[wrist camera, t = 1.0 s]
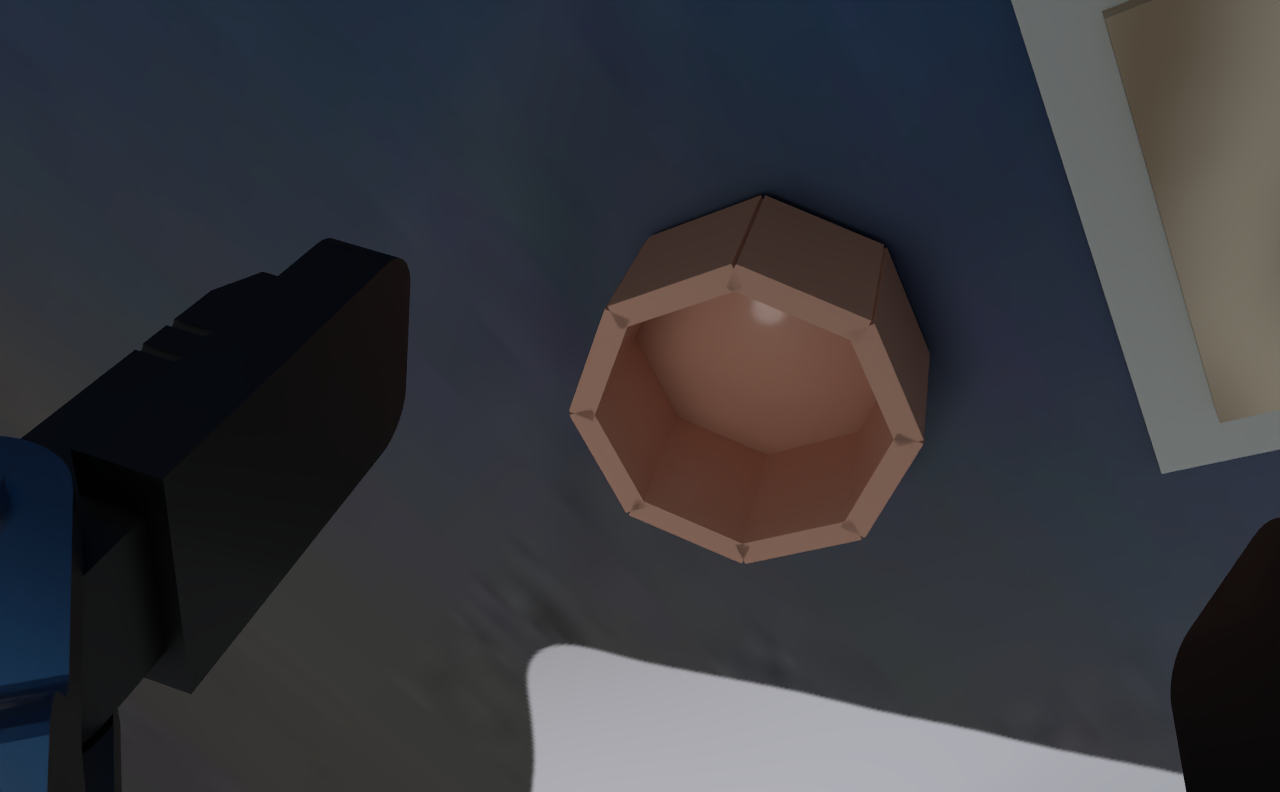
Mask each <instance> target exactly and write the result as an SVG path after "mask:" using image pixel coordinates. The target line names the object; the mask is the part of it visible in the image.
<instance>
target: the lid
mask: <svg viewBox="0 0 1280 792" xmlns="http://www.w3.org/2000/svg"><path fill="white" fill-rule="evenodd" d="M1102 13H1103V17H1104V20H1105V24H1106V27H1107V31H1108V35H1109V38H1110V42H1111V45H1112V49H1113V52H1114V56H1115V59H1116V63H1117V66H1118V70H1119V73H1120V77H1121V80H1122V84H1123V87H1124V91H1125V94H1126V98H1127V101H1128V105H1129V108H1130V112H1131V115H1132V119H1133V122H1134V126H1135V129H1136V133H1137V136H1138V140H1139V143H1140V147H1141V151H1142V154H1143V158H1144V161H1145V165H1146V168H1147V172H1148V175H1149V179H1150V182H1151V186H1152V189H1153V193H1154V196H1155V200H1156V203H1157V207H1158V210H1159V214H1160V217H1161V221H1162V224H1163V228H1164V231H1165V235H1166V238H1167V242H1168V245H1169V249H1170V252H1171V256H1172V259H1173V263H1174V267H1175V270H1176V274H1177V277H1178V281H1179V284H1180V288H1181V291H1182V295H1183V298H1184V302H1185V305H1186V309H1187V312H1188V316H1189V319H1190V323H1191V326H1192V330H1193V333H1194V337H1195V340H1196V344H1197V347H1198V351H1199V354H1200V358H1201V361H1202V365H1203V368H1204V372H1205V376H1206V379H1207V383H1208V386H1209V390H1210V393H1211V397H1212V400H1213V404H1214V407H1215V410H1216V413H1217V416H1218V419H1219V422H1220V423H1223V422H1228V421H1232V420H1237V419H1241V418H1246V417H1250V416H1255V415H1259V414H1264V413H1268V412H1273V411H1277V410H1280V0H1129V1H1127V2H1124V3H1122V4H1119V5H1117V6H1114V7H1112V8H1109V9H1107V10H1104V11H1102Z"/></svg>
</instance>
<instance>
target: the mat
mask: <svg viewBox="0 0 1280 792" xmlns="http://www.w3.org/2000/svg"><path fill="white" fill-rule="evenodd" d="M1011 1H1012V5H1013V8H1014V11H1015V14H1016V17H1017V20H1018V23H1019V27H1020V30H1021V33H1022V36H1023V39H1024V42H1025V45H1026V49H1027V52H1028V55H1029V58H1030V61H1031V64H1032V67H1033V71H1034V74H1035V77H1036V80H1037V83H1038V86H1039V89H1040V93H1041V96H1042V99H1043V102H1044V105H1045V108H1046V111H1047V115H1048V118H1049V121H1050V124H1051V127H1052V130H1053V133H1054V137H1055V140H1056V143H1057V146H1058V149H1059V152H1060V155H1061V159H1062V162H1063V165H1064V168H1065V171H1066V174H1067V177H1068V181H1069V184H1070V187H1071V190H1072V193H1073V196H1074V199H1075V203H1076V206H1077V209H1078V212H1079V215H1080V218H1081V221H1082V225H1083V228H1084V231H1085V234H1086V237H1087V240H1088V244H1089V247H1090V250H1091V253H1092V256H1093V259H1094V262H1095V266H1096V269H1097V272H1098V275H1099V278H1100V281H1101V284H1102V288H1103V291H1104V294H1105V297H1106V300H1107V303H1108V306H1109V310H1110V313H1111V316H1112V319H1113V322H1114V325H1115V328H1116V332H1117V335H1118V338H1119V341H1120V344H1121V347H1122V350H1123V354H1124V357H1125V360H1126V363H1127V366H1128V369H1129V372H1130V376H1131V379H1132V382H1133V385H1134V388H1135V391H1136V394H1137V398H1138V401H1139V404H1140V407H1141V410H1142V413H1143V416H1144V420H1145V423H1146V426H1147V429H1148V432H1149V435H1150V438H1151V442H1152V445H1153V448H1154V451H1155V454H1156V457H1157V460H1158V464H1159V467H1160V470H1161V473H1162V474H1164V473H1169V472H1173V471H1178V470H1183V469H1188V468H1192V467H1197V466H1202V465H1207V464H1212V463H1216V462H1221V461H1226V460H1231V459H1236V458H1240V457H1245V456H1250V455H1255V454H1259V453H1264V452H1269V451H1274V450H1279V449H1280V410H1277V411H1273V412H1268V413H1264V414H1259V415H1255V416H1250V417H1246V418H1241V419H1237V420H1232V421H1228V422H1223V423H1220V422H1219V419H1218V416H1217V413H1216V410H1215V407H1214V404H1213V400H1212V397H1211V393H1210V390H1209V386H1208V383H1207V379H1206V376H1205V372H1204V368H1203V365H1202V361H1201V358H1200V354H1199V351H1198V347H1197V344H1196V340H1195V337H1194V333H1193V330H1192V326H1191V323H1190V319H1189V316H1188V312H1187V309H1186V305H1185V302H1184V298H1183V295H1182V291H1181V288H1180V284H1179V281H1178V277H1177V274H1176V270H1175V267H1174V263H1173V259H1172V256H1171V252H1170V249H1169V245H1168V242H1167V238H1166V235H1165V231H1164V228H1163V224H1162V221H1161V217H1160V214H1159V210H1158V207H1157V203H1156V200H1155V196H1154V193H1153V189H1152V186H1151V182H1150V179H1149V175H1148V172H1147V168H1146V165H1145V161H1144V158H1143V154H1142V151H1141V147H1140V143H1139V140H1138V136H1137V133H1136V129H1135V126H1134V122H1133V119H1132V115H1131V112H1130V108H1129V105H1128V101H1127V98H1126V94H1125V91H1124V87H1123V84H1122V80H1121V77H1120V73H1119V70H1118V66H1117V63H1116V59H1115V56H1114V52H1113V49H1112V45H1111V42H1110V38H1109V35H1108V31H1107V27H1106V24H1105V20H1104V17H1103V13H1102V11H1104V10H1107V9H1109V8H1112V7H1114V6H1117V5H1119V4H1122V3H1124V2H1127V1H1129V0H1011Z"/></svg>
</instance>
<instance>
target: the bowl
mask: <svg viewBox="0 0 1280 792" xmlns="http://www.w3.org/2000/svg"><path fill="white" fill-rule="evenodd" d="M883 248H884V244H881V243H879V242H876V241H874V240H872V239H869V238H867V237H864V236H862V235H860V234H857V233H855V232H852V231H850V230H848V229H845V228H843V227H840V226H838V225H836V224H833V223H831V222H828V221H826V220H824V219H821V218H819V217H816V216H814V215H812V214H809V213H807V212H804V211H802V210H800V209H797V208H795V207H792V206H790V205H788V204H785V203H783V202H780V201H778V200H776V199H773V198H771V197H768V196H766V195H765V197H764V199H762V196H761V195H760V196H757V197H754V198H752V199H749V200H746V201H744V202H741V203H738V204H736V205H733V206H730V207H727V208H725V209H722V210H719V211H717V212H714V213H711V214H709V215H706V216H703V217H701V218H698V219H695V220H692V221H690V222H687V223H684V224H682V225H679V226H676V227H674V228H671V229H668V230H665V231H663V232H660V233H657V234H655V235H652V236H650V237H649V239H647V240H646V242H645V244H644V245H643V247H642V249H641V250H640V252H639V253H638V255H637V257H636V258H635V260H634V262H633V263H632V265H631V267H630V268H629V270H628V272H627V273H626V275H625V277H624V278H623V280H622V282H621V283H620V285H619V286H618V288H617V290H616V291H615V293H614V295H613V296H612V298H611V300H610V301H609V303H608V305H607V306H606V308H605V310H604V313H603V316H602V318H601V321H600V324H599V327H598V330H597V333H596V336H595V338H594V341H593V344H592V347H591V350H590V353H589V356H588V358H587V361H586V364H585V367H584V370H583V373H582V376H581V379H580V381H579V384H578V387H577V390H576V393H575V396H574V399H573V401H572V404H571V407H570V410H569V412H571V413H570V417H571V418H572V420H573V422H574V424H575V425H576V427H577V429H578V430H579V432H580V434H581V436H582V437H583V439H584V441H585V443H586V444H587V446H588V448H589V449H590V451H591V453H592V455H593V456H594V458H595V460H596V462H597V463H598V465H599V467H600V468H601V470H602V472H603V474H604V475H605V477H606V479H607V481H608V482H609V484H610V486H611V487H612V489H613V491H614V493H615V494H616V496H617V498H618V500H619V501H620V503H621V505H622V506H623V508H624V510H625V512H626V513H627V512H630V514H629V515H630V516H632V517H635V518H637V519H639V520H642V521H644V522H646V523H649V524H651V525H653V526H655V527H658V528H660V529H662V530H665V531H667V532H669V533H672V534H674V535H676V536H679V537H681V538H683V539H686V540H688V541H690V542H693V543H695V544H697V545H700V546H702V547H704V548H707V549H709V550H711V551H714V552H716V553H718V554H721V555H723V556H725V557H728V558H730V559H732V560H735V561H737V562H739V563H742V561H743V560H744V562H745V564H747V563H752V562H756V561H761V560H766V559H771V558H776V557H781V556H785V555H790V554H795V553H800V552H805V551H810V550H814V549H819V548H824V547H829V546H834V545H839V544H843V543H848V542H853V541H858V540H862V537H864V538H865V537H866V535H867V534H868V532H869V530H870V529H871V527H872V526H873V524H874V522H875V521H876V519H877V518H878V516H879V514H880V513H881V511H882V510H883V508H884V506H885V505H886V503H887V502H888V500H889V498H890V497H891V495H892V494H893V492H894V490H895V489H896V487H897V486H898V484H899V482H900V481H901V479H902V478H903V476H904V474H905V473H906V471H907V470H908V468H909V466H910V465H911V463H912V462H913V460H914V458H915V457H916V455H917V454H918V452H919V450H920V449H921V447H922V446H923V444H924V430H925V416H926V402H927V388H928V374H929V360H930V353H929V350H928V348H927V345H926V343H925V340H924V338H923V335H922V333H921V330H920V328H919V326H918V323H917V321H916V318H915V316H914V313H913V311H912V308H911V306H910V303H909V301H908V298H907V296H906V293H905V291H904V288H903V286H902V283H901V281H900V278H899V276H898V274H897V271H896V269H895V266H894V264H893V261H892V259H891V256H890V254H889V251H888V249H887V248H884V249H883Z"/></svg>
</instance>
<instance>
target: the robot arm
mask: <svg viewBox="0 0 1280 792" xmlns="http://www.w3.org/2000/svg"><path fill="white" fill-rule="evenodd" d="M409 302H410V273H409V269H408V266H407V264H406V262H405V261H404V260H403V259H401V258H397V257H394V256H391V255H387V254H384V253H380V252H377V251H373V250H370V249H367V248H363V247H360V246H356V245H353V244H349V243H346V242H342V241H339V240H336V239H332V238H327V239H324V240H322V241H320V242H319V243H317V244H316V245H315V246H314V247H313V248H311V249H310V250H309V251H308V252H307V253H305V254H304V255H303V256H302V257H301V258H299V259H298V260H297V261H296V262H295V263H293V264H292V265H291V266H290V267H288V268H287V269H286V270H285V271H284V272H282V273H281V274H280V275H279V276H275V275H272V274H269V273H265V272H261V273H258V274H255V275H253V276H250V277H247V278H244V279H242V280H239V281H236V282H234V283H231V284H228V285H225V286H223V287H220V288H217V289H214V290H212V291H210V292H209V293H208V294H206V295H205V296H204V297H202V298H201V299H200V300H199V301H197V302H196V303H195V304H193V305H192V306H191V307H190V308H188V309H187V310H186V311H184V312H183V313H182V314H181V315H179V316H178V317H177V318H175V319H174V323H173V325H172V327H170V326H167V325H166V326H165V327H164V328H162V329H161V330H160V331H159V332H157V333H156V334H155V335H153V336H152V337H151V338H150V339H148V340H147V341H146V342H144V343H143V348H142V350H141V351H138V350H134V351H133V352H132V353H130V354H129V355H128V356H126V357H125V358H124V359H123V360H121V361H120V362H119V363H117V364H116V365H115V366H114V367H112V368H111V369H110V370H108V371H107V372H106V373H105V374H103V375H102V376H101V377H99V378H98V379H97V380H96V381H94V382H93V383H92V384H90V385H89V386H88V387H87V388H85V389H84V390H83V391H81V392H80V393H79V394H78V395H76V396H75V397H74V398H72V399H71V400H70V401H69V402H67V403H66V404H65V405H63V406H62V407H61V408H60V409H58V410H57V411H56V412H54V413H53V414H52V415H51V416H49V417H48V418H47V419H45V420H44V421H43V422H42V423H40V424H39V425H38V426H36V427H35V428H34V429H33V430H31V431H30V432H29V433H27V434H26V435H25V436H24V437H22V438H21V439H18V438H12V437H6V436H0V792H122V779H121V731H120V719H119V713H118V707H119V706H120V705H121V704H122V702H123V701H124V700H125V699H126V698H127V697H128V695H129V694H130V693H131V692H132V691H133V690H134V688H135V687H136V686H137V685H138V684H139V683H140V681H141V680H142V679H143V678H144V677H145V678H147V679H150V680H153V681H156V682H159V683H161V684H164V685H167V686H170V687H173V688H176V689H178V690H181V691H184V692H187V693H190V694H192V692H193V691H194V690H195V689H196V687H197V686H198V685H199V684H200V682H201V681H202V680H203V679H204V677H205V676H206V675H207V674H208V672H209V671H210V670H211V668H212V667H213V666H214V665H215V663H216V662H217V661H218V660H219V658H220V657H221V656H222V655H223V653H224V652H225V651H226V650H227V648H228V647H229V646H230V645H231V643H232V642H233V641H234V639H235V638H236V637H237V636H238V634H239V633H240V632H241V631H242V629H243V628H244V627H245V626H246V624H247V623H248V622H249V621H250V619H251V618H252V617H253V616H254V614H255V613H256V612H257V611H258V609H259V608H260V607H261V605H262V604H263V603H264V602H265V600H266V599H267V598H268V597H269V595H270V594H271V593H272V592H273V590H274V589H275V588H276V587H277V585H278V584H279V583H280V582H281V580H282V579H283V578H284V577H285V575H286V574H287V573H288V571H289V570H290V569H291V568H292V566H293V565H294V564H295V563H296V561H297V560H298V559H299V558H300V556H301V555H302V554H303V553H304V551H305V550H306V549H307V548H308V546H309V545H310V544H311V542H312V541H313V540H314V539H315V537H316V536H317V535H318V534H319V532H320V531H321V530H322V529H323V527H324V526H325V525H326V524H327V522H328V521H329V520H330V519H331V517H332V516H333V515H334V514H335V512H336V511H337V510H338V508H339V507H340V506H341V505H342V503H343V502H344V501H345V500H346V498H347V497H348V496H349V495H350V493H351V492H352V491H353V490H354V488H355V487H356V486H357V485H358V483H359V482H360V481H361V479H362V478H363V477H364V476H365V474H366V473H367V472H368V471H369V469H370V468H371V467H372V466H373V464H374V463H375V462H376V461H377V459H378V458H379V457H380V456H381V454H382V453H383V452H384V450H385V449H386V447H387V446H388V444H389V442H390V440H391V438H392V436H393V434H394V432H395V430H396V427H397V425H398V422H399V419H400V416H401V413H402V409H403V405H404V399H405V392H406V373H407V349H408V326H409ZM1171 705H1172V711H1173V717H1174V723H1175V729H1176V735H1177V740H1178V746H1179V752H1180V758H1181V763H1182V769H1183V775H1184V780H1185V786H1186V792H1280V518H1275V519H1273V520H1270V521H1269V522H1267V523H1266V524H1265V525H1263V526H1262V527H1261V528H1260V529H1259V530H1258V532H1257V533H1256V534H1255V536H1254V537H1253V538H1252V540H1251V541H1250V543H1249V544H1248V546H1247V547H1246V548H1245V550H1244V551H1243V553H1242V554H1241V556H1240V557H1239V559H1238V560H1237V561H1236V563H1235V564H1234V566H1233V567H1232V569H1231V570H1230V572H1229V573H1228V574H1227V576H1226V577H1225V579H1224V580H1223V582H1222V583H1221V585H1220V586H1219V588H1218V589H1217V590H1216V592H1215V593H1214V595H1213V596H1212V598H1211V599H1210V601H1209V602H1208V603H1207V605H1206V606H1205V608H1204V609H1203V611H1202V612H1201V614H1200V615H1199V617H1198V618H1197V619H1196V621H1195V622H1194V624H1193V625H1192V627H1191V628H1190V630H1189V631H1188V633H1187V634H1186V636H1185V638H1184V640H1183V642H1182V644H1181V646H1180V648H1179V651H1178V654H1177V657H1176V660H1175V664H1174V668H1173V673H1172V679H1171Z"/></svg>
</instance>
